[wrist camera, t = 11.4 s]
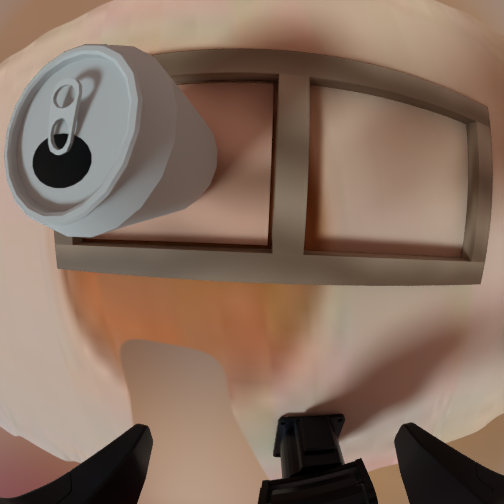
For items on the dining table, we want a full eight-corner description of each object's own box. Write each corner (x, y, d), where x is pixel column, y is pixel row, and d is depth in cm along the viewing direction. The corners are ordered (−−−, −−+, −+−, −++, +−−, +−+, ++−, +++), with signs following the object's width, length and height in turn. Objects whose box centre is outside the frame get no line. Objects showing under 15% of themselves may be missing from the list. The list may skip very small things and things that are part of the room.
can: (112, 204, 19) (-16, 227, 7) (131, 107, 17) (23, 45, 5) (207, 222, 19) (134, 271, 7) (230, 116, 17) (192, 16, 6)
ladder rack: (470, 279, 20) (480, 284, 18) (67, 264, 20) (57, 268, 19) (478, 110, 16) (487, 107, 15) (75, 81, 17) (66, 76, 15)
